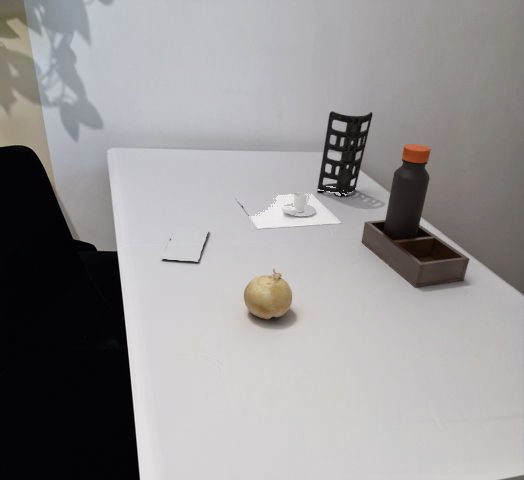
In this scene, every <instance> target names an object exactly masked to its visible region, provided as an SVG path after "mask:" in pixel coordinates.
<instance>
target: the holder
mask: <svg viewBox="0 0 524 480" xmlns="http://www.w3.org/2000/svg"><path fill="white" fill-rule="evenodd" d="M372 119H373V112H372V111H370V112H369V113H368V114H365V115H347V114H342V113H339V112H336V111H332V110H331V111H330V112H329V116H328V121H327V127H326V133H325V140H324V147H323V152H322V159H321V166H320V171H319V177H318V182H317V188H316V190H317V189H320V190H324V191H330V192H339V193H340V194H342V193H345V194H347V192H352V191H353V192H354V191H355V190H356V189H357V184H358V180H359V176H360V171H361V167H362V161H363V158H364V153H365V149H366V144H367V140H368V136H369V132H370V127H371V123H372ZM334 121H338V122H341V123H346V126H345V131H342V130H338V129H334V128H333V123H334ZM364 123H367V124H366V125H367V126H366V129H365V130H363V131H362V127H363V124H364ZM332 136H335V143H334V144H332V143H331V137H332ZM343 138H344V139H343ZM342 139H343V145H342V146H341V141H342ZM330 150H331V151H334V152H338V153H341V155H340V159H339V160H337V159H333V158H329V157H328V156H329V151H330ZM359 152H360V155H359V158H358V159H356V157H357V153H359ZM327 165H329V166H330V165H331V168H330V172H327V171H326V168H327V167H326V166H327ZM337 167H338V172H337ZM336 172H337V174H336ZM325 179H328V180H333V181H336V183H335V182H334V183H327V184H324V180H325ZM353 180H354V182H353V185H351V184H352V181H353ZM326 186H333V187H336V188H330V187H326ZM355 188H356V189H355ZM343 190H344V191H343ZM353 192H352V193H353ZM334 195H335V196H337V195H336V194H334ZM343 196H344V197H345V198H346V197H347V196H345V195H343ZM338 197H339V198H341V197H342V196H338Z"/></svg>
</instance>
